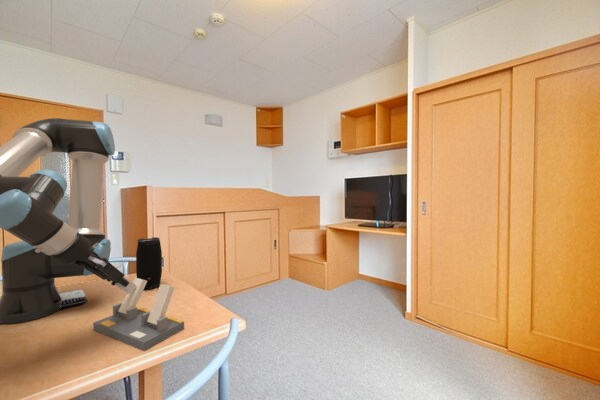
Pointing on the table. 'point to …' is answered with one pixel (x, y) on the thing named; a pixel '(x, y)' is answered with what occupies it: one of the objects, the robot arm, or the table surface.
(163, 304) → the paddle
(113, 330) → the switch unit
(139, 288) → the paddle
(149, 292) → the table surface
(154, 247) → the portable speaker
